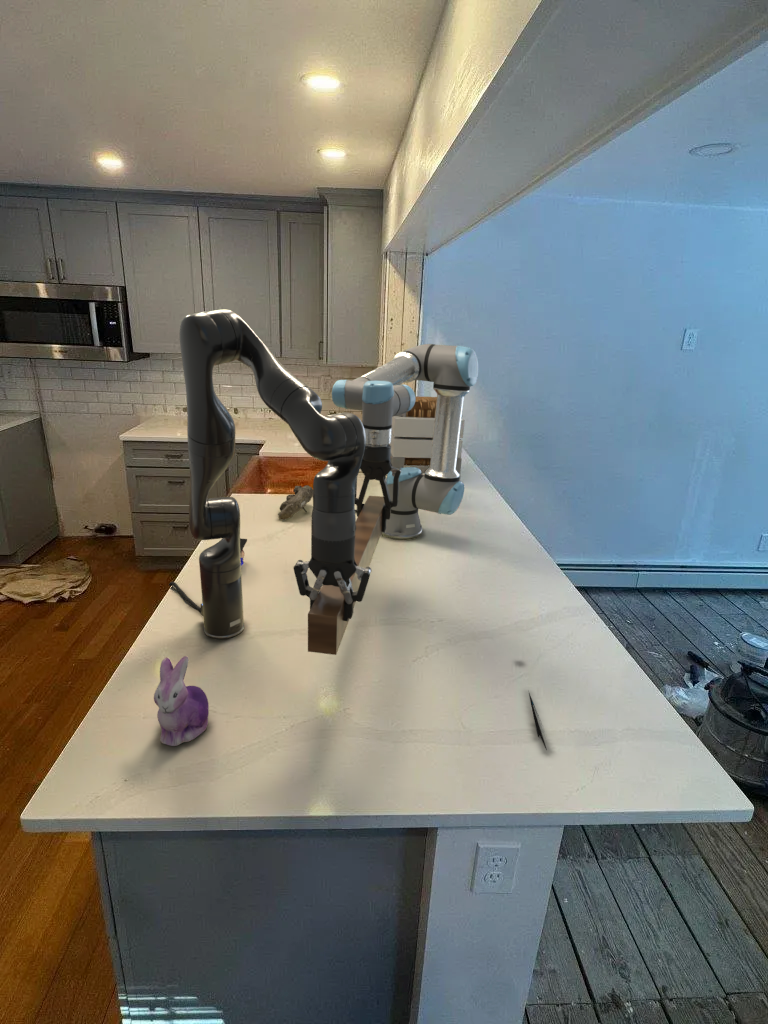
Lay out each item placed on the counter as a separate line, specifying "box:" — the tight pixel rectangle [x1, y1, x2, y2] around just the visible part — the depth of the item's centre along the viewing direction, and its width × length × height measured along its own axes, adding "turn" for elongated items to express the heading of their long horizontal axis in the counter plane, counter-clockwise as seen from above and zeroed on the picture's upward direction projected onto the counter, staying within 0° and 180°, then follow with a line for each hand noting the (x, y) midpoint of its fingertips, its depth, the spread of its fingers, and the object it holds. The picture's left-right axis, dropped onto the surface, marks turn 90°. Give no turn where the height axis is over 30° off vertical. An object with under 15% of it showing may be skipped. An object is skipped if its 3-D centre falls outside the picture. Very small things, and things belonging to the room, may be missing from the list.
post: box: [307, 495, 385, 656], centre depth 126 cm, size 65×5×8 cm, turn 172°
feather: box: [528, 689, 548, 751], centre depth 116 cm, size 2×28×2 cm
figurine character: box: [240, 537, 248, 567], centre depth 166 cm, size 7×8×15 cm
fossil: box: [277, 484, 313, 521], centre depth 215 cm, size 22×10×15 cm
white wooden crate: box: [389, 396, 465, 481], centre depth 268 cm, size 34×33×41 cm
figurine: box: [153, 655, 210, 747], centre depth 102 cm, size 9×10×15 cm
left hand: (331, 616), depth 103 cm, fingers closed on post, 5 cm apart
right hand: (373, 529), depth 151 cm, fingers closed on post, 5 cm apart
